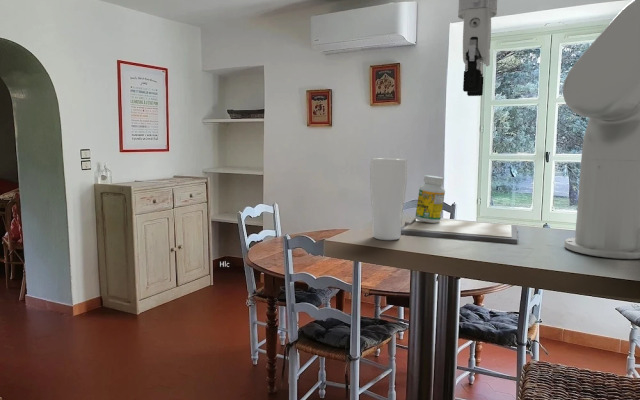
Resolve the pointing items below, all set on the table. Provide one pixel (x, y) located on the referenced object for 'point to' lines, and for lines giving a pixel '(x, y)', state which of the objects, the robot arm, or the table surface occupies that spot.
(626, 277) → the table surface
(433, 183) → the supplement bottle
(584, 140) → the robot arm
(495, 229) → the notepad
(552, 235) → the table surface
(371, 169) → the drinking glass
